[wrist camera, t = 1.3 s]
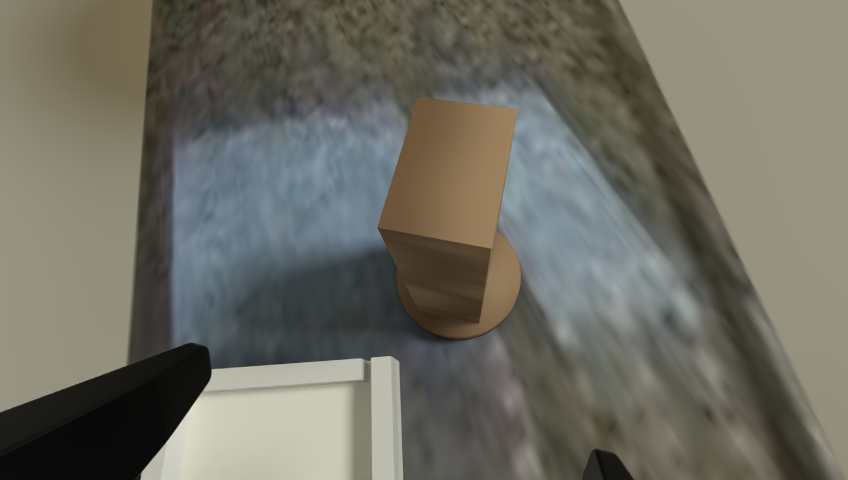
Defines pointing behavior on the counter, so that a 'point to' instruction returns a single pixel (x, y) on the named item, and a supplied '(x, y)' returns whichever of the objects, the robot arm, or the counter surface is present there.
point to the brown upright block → (452, 218)
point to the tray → (290, 425)
